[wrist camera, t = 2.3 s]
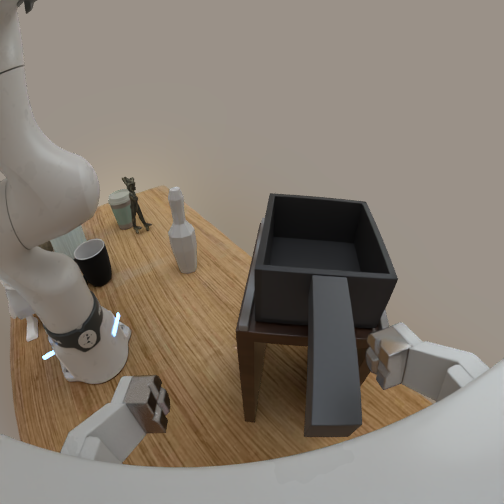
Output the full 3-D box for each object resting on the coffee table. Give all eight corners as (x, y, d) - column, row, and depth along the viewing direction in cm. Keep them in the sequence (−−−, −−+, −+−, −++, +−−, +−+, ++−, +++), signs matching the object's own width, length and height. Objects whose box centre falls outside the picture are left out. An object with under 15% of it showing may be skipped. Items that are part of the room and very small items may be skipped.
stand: (258, 337, 53) (260, 217, 37) (328, 342, 51) (362, 225, 35) (244, 421, 39) (234, 324, 23) (329, 426, 37) (394, 333, 21)
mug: (114, 264, 71) (103, 234, 65) (117, 284, 65) (105, 252, 59) (77, 277, 67) (64, 248, 61) (77, 297, 61) (62, 267, 54)
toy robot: (22, 344, 46) (-21, 283, 34) (22, 320, 52) (-14, 261, 40) (64, 326, 53) (25, 260, 41) (61, 303, 58) (29, 240, 47)
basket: (268, 237, 34) (269, 193, 30) (356, 244, 33) (366, 201, 29) (232, 442, 15) (222, 416, 11) (390, 445, 14) (433, 415, 10)
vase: (87, 262, 72) (64, 196, 59) (57, 270, 69) (30, 207, 55) (91, 242, 81) (72, 181, 67) (63, 250, 77) (41, 191, 64)
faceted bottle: (199, 258, 73) (188, 181, 60) (200, 274, 68) (188, 193, 55) (176, 261, 72) (161, 185, 59) (175, 277, 67) (158, 197, 54)
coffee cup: (143, 220, 91) (136, 189, 84) (128, 233, 84) (119, 200, 77) (126, 217, 93) (118, 187, 86) (111, 229, 87) (102, 198, 79)
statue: (154, 233, 84) (142, 174, 72) (136, 238, 82) (121, 180, 70) (152, 226, 87) (140, 170, 75) (134, 231, 85) (120, 175, 73)
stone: (32, 251, 77) (24, 233, 72) (51, 241, 82) (44, 223, 77) (37, 273, 68) (27, 253, 63) (58, 261, 73) (49, 240, 68)
